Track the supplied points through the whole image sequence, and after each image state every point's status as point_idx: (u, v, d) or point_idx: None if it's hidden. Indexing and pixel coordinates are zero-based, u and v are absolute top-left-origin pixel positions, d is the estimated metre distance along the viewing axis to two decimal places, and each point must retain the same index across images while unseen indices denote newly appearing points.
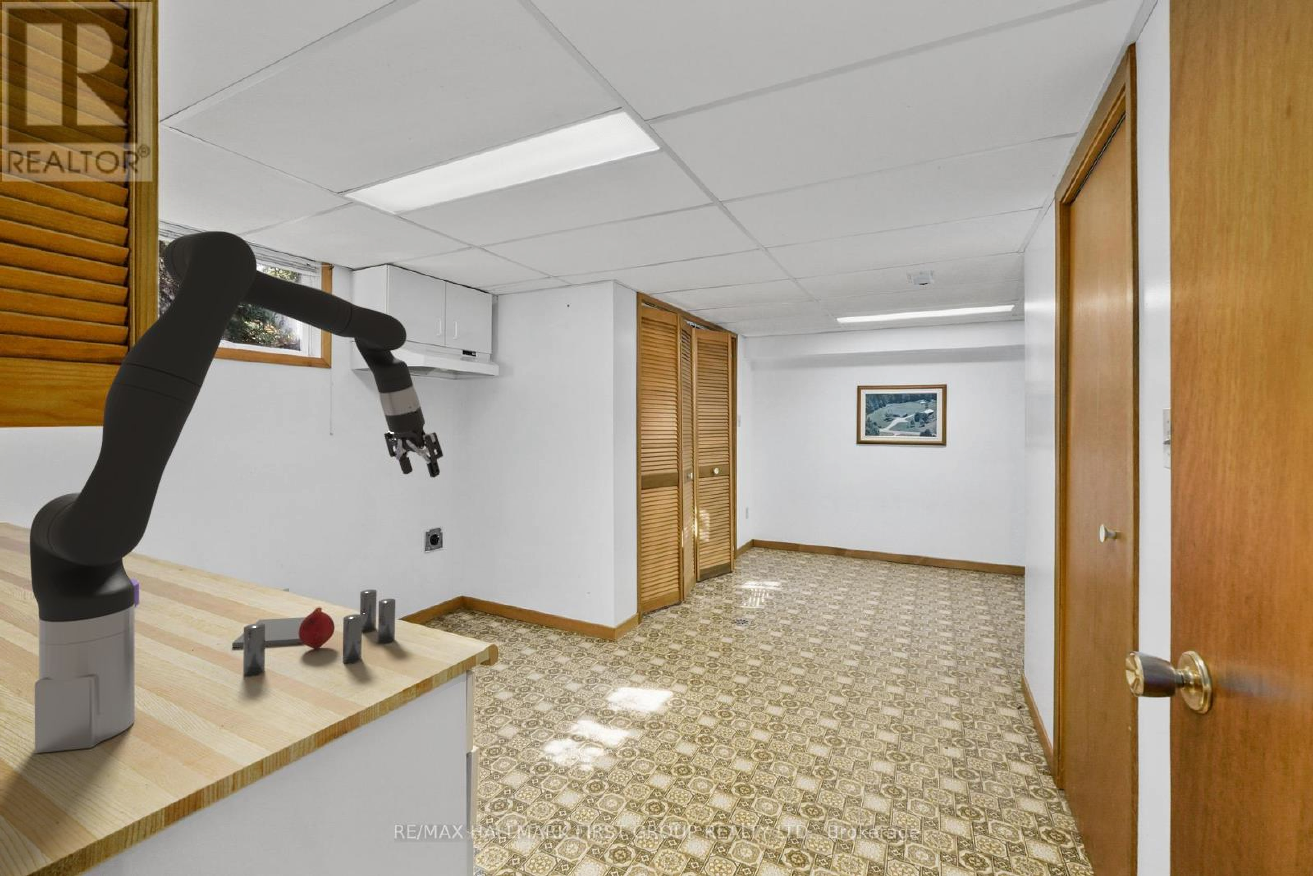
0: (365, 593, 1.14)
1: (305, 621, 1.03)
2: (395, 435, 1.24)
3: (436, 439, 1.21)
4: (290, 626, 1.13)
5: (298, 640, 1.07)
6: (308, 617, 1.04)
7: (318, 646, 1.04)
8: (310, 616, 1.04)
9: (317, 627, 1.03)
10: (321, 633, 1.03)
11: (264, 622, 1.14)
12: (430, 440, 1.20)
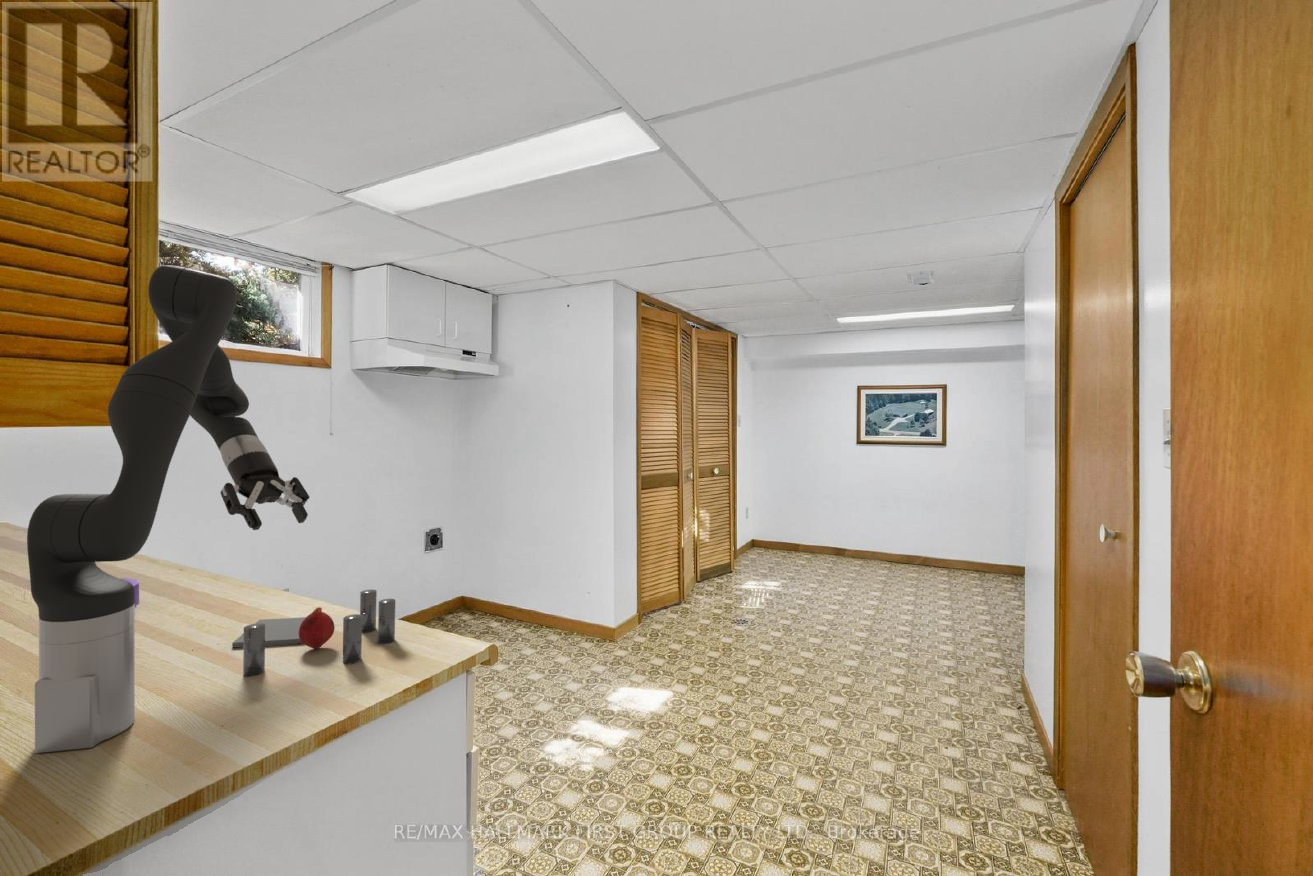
0: (365, 593, 1.14)
1: (305, 621, 1.03)
2: (245, 483, 1.09)
3: None
4: (290, 626, 1.13)
5: (298, 640, 1.07)
6: (308, 617, 1.04)
7: (318, 646, 1.04)
8: (310, 616, 1.04)
9: (317, 627, 1.03)
10: (321, 633, 1.03)
11: (264, 622, 1.14)
12: None
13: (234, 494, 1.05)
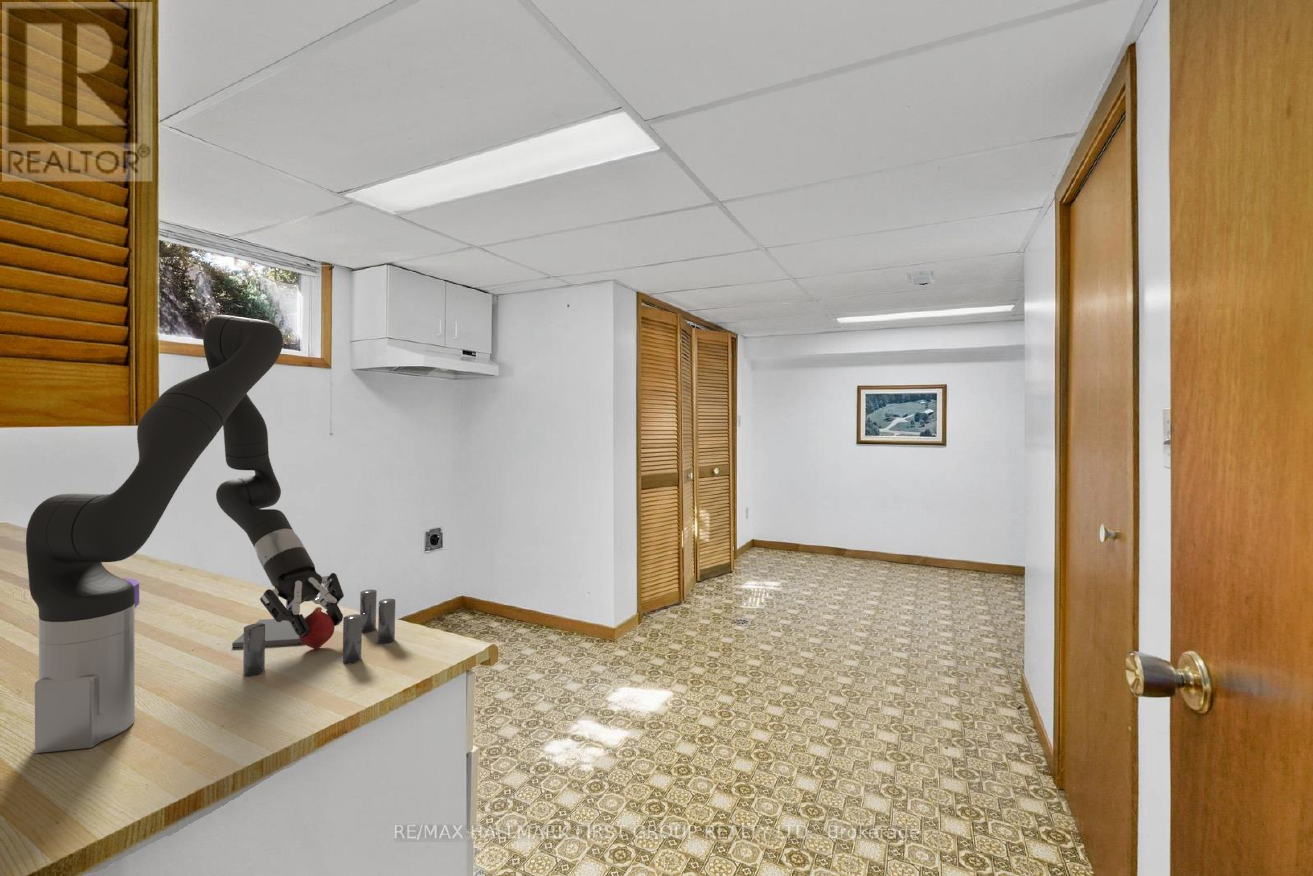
0: (365, 593, 1.14)
1: None
2: (283, 584, 1.04)
3: None
4: (290, 626, 1.13)
5: (298, 640, 1.07)
6: (308, 617, 1.04)
7: (318, 646, 1.04)
8: (310, 616, 1.04)
9: (317, 627, 1.03)
10: (321, 633, 1.03)
11: (264, 622, 1.14)
12: None
13: (278, 601, 1.01)
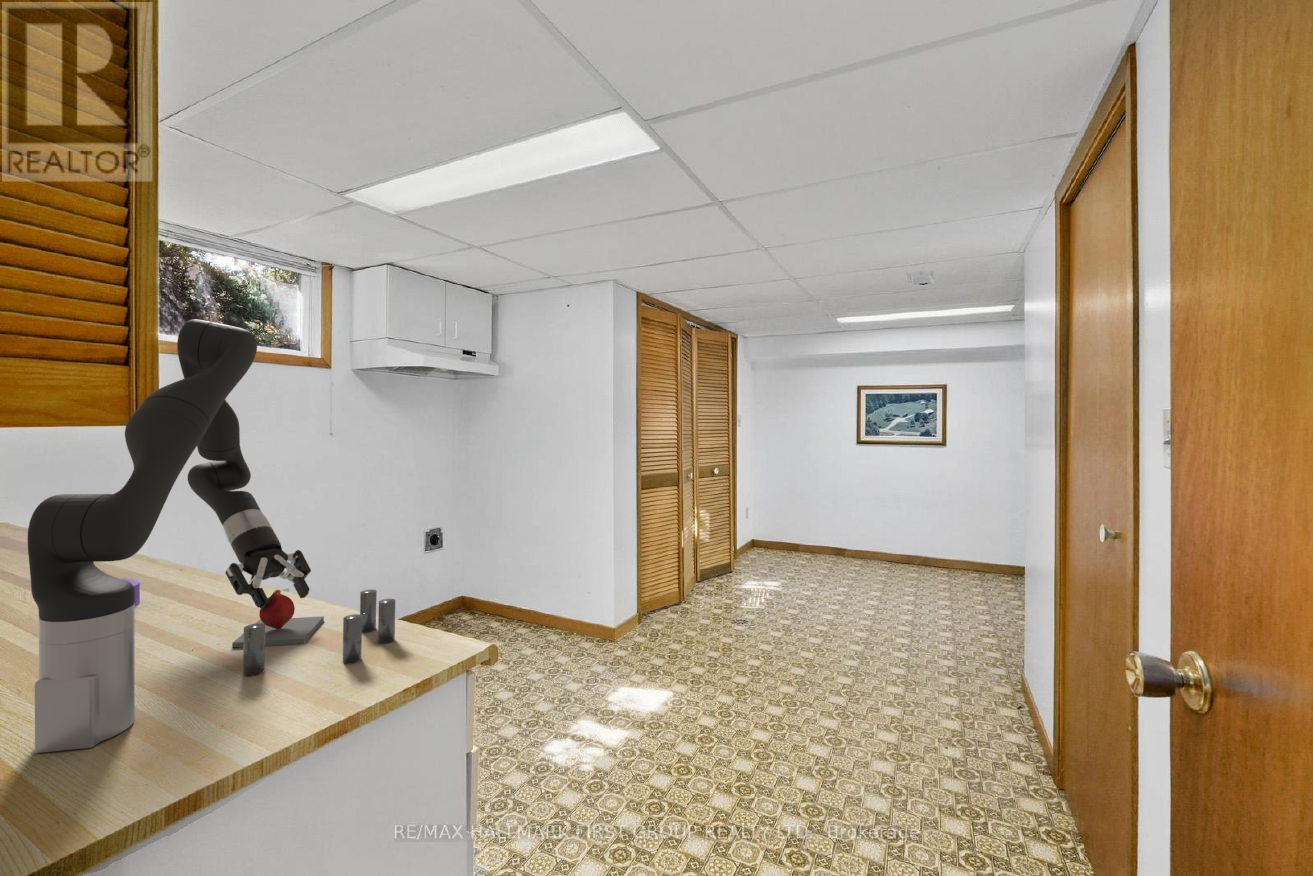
0: (365, 593, 1.14)
1: None
2: (249, 560, 1.10)
3: None
4: (290, 626, 1.13)
5: (298, 640, 1.07)
6: None
7: (279, 626, 1.10)
8: (270, 598, 1.09)
9: (276, 609, 1.09)
10: (281, 614, 1.09)
11: None
12: None
13: (240, 574, 1.07)
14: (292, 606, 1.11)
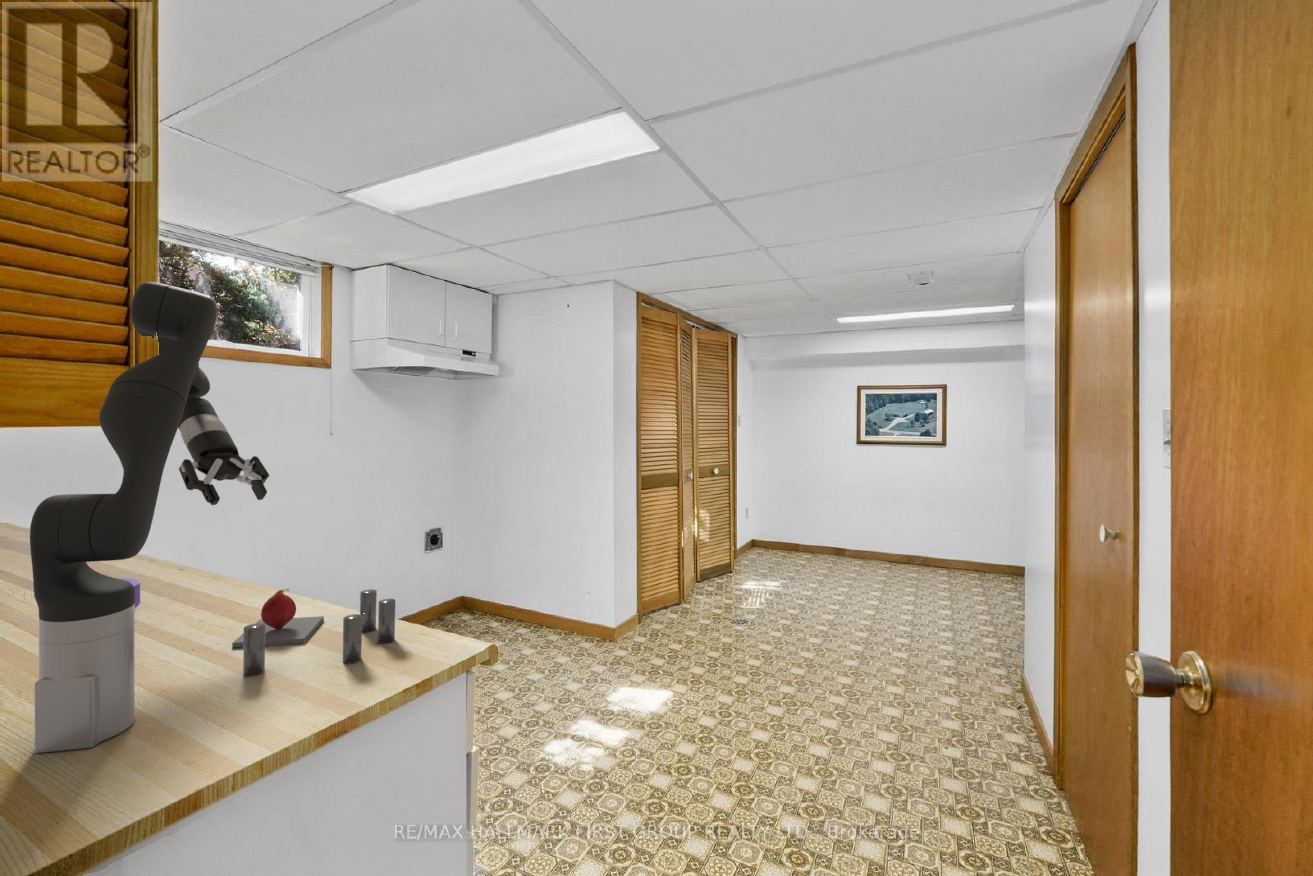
0: (365, 593, 1.14)
1: (267, 603, 1.09)
2: (204, 460, 1.11)
3: None
4: (290, 626, 1.13)
5: (298, 640, 1.07)
6: (270, 599, 1.10)
7: (280, 626, 1.10)
8: (272, 598, 1.10)
9: (279, 608, 1.09)
10: (283, 614, 1.09)
11: None
12: None
13: (192, 470, 1.08)
14: (294, 606, 1.12)
